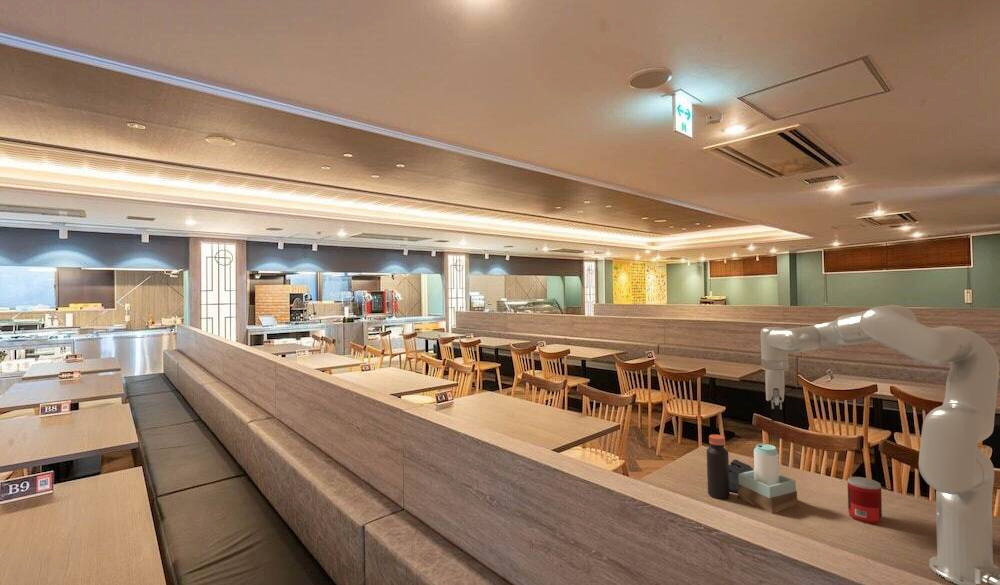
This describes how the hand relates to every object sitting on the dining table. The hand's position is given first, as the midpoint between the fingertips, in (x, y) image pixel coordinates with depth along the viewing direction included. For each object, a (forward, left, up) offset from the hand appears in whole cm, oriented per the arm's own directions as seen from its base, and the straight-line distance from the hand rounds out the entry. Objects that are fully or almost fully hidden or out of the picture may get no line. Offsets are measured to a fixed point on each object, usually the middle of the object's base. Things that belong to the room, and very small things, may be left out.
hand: (776, 417), depth 151 cm
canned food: (-15, -17, -28) cm, 36 cm away
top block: (+2, +3, -23) cm, 24 cm away
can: (+2, +3, -22) cm, 22 cm away
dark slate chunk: (+18, +2, -29) cm, 34 cm away
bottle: (+9, +15, -28) cm, 33 cm away
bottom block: (+2, +3, -28) cm, 29 cm away
